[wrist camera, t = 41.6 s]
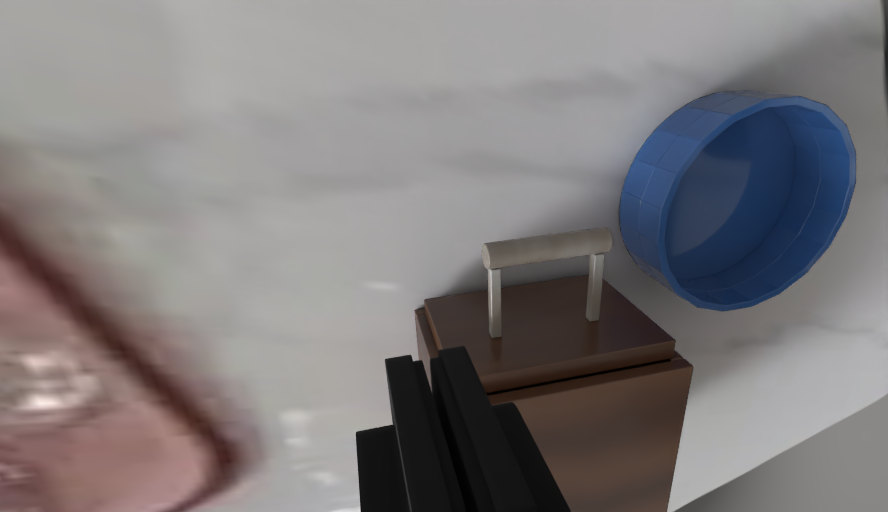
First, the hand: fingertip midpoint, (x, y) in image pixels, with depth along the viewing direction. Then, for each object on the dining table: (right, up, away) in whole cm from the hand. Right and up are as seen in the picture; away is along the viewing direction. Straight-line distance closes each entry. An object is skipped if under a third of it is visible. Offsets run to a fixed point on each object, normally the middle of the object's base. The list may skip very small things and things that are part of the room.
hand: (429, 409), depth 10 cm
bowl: (+19, +8, +25) cm, 32 cm away
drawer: (+5, -3, +25) cm, 26 cm away
